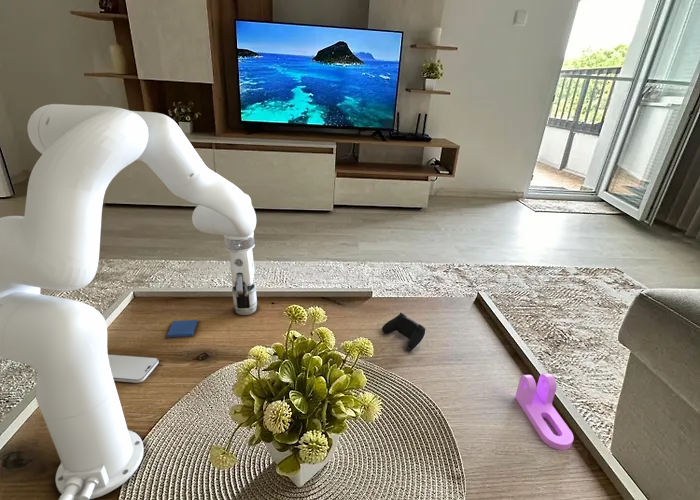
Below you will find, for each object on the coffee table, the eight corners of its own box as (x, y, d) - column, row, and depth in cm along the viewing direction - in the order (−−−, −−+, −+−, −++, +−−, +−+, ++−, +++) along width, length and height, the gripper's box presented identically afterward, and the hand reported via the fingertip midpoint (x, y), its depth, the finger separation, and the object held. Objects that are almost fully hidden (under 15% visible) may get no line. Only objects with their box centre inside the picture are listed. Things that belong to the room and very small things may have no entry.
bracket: (515, 397, 83) (521, 371, 80) (540, 395, 84) (547, 369, 81) (549, 451, 71) (558, 422, 69) (578, 449, 72) (588, 421, 69)
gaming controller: (417, 356, 98) (432, 333, 98) (409, 351, 94) (425, 326, 95) (386, 335, 105) (401, 313, 106) (378, 329, 102) (394, 307, 103)
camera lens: (234, 305, 113) (231, 280, 109) (256, 302, 114) (254, 278, 111) (234, 317, 107) (231, 292, 104) (258, 314, 109) (256, 289, 105)
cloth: (192, 336, 99) (192, 333, 99) (167, 337, 98) (166, 335, 98) (197, 322, 105) (197, 319, 104) (173, 323, 104) (173, 321, 103)
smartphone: (98, 353, 91) (160, 357, 90) (100, 357, 92) (161, 361, 90) (75, 375, 85) (141, 380, 83) (76, 379, 85) (142, 384, 83)
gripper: (251, 254, 95) (256, 317, 102) (256, 228, 110) (261, 285, 118) (218, 255, 94) (226, 319, 101) (229, 229, 109) (235, 286, 117)
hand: (245, 300), depth 109 cm, fingers closed on camera lens, 6 cm apart
